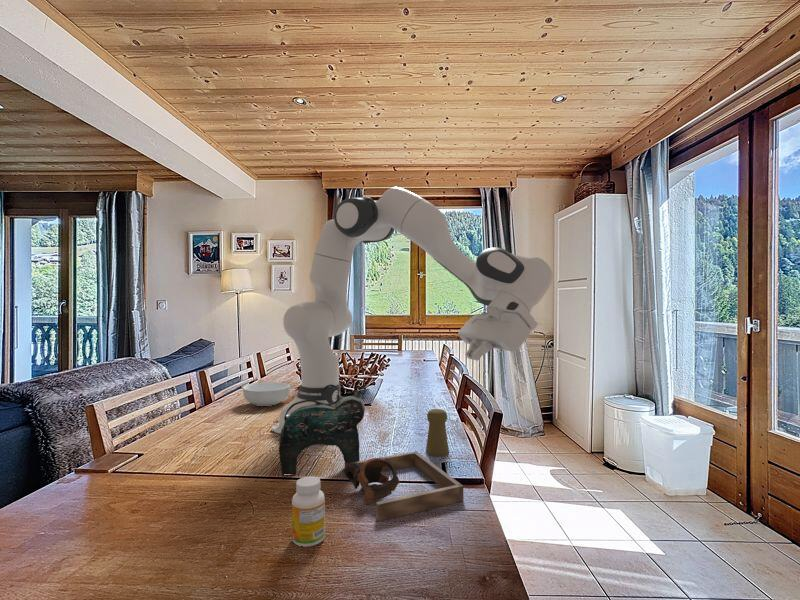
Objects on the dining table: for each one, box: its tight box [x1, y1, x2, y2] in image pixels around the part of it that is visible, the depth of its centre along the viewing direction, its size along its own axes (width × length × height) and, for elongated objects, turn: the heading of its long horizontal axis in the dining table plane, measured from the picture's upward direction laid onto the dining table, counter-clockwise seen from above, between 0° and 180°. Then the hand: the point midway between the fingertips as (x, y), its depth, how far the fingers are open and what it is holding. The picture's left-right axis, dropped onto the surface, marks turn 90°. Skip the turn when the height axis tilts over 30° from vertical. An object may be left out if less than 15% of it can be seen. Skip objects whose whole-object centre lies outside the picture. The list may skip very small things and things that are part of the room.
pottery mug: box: [343, 457, 401, 505], centre depth 89 cm, size 12×10×8 cm
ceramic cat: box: [278, 384, 366, 476], centre depth 101 cm, size 20×6×20 cm, turn 100°
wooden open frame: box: [344, 450, 464, 522], centre depth 91 cm, size 18×21×3 cm
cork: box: [425, 408, 450, 457], centre depth 112 cm, size 6×6×11 cm
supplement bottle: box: [291, 476, 326, 548], centre depth 73 cm, size 5×5×10 cm
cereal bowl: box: [242, 381, 291, 407], centre depth 163 cm, size 17×17×7 cm
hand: (470, 357), depth 98 cm, fingers closed
